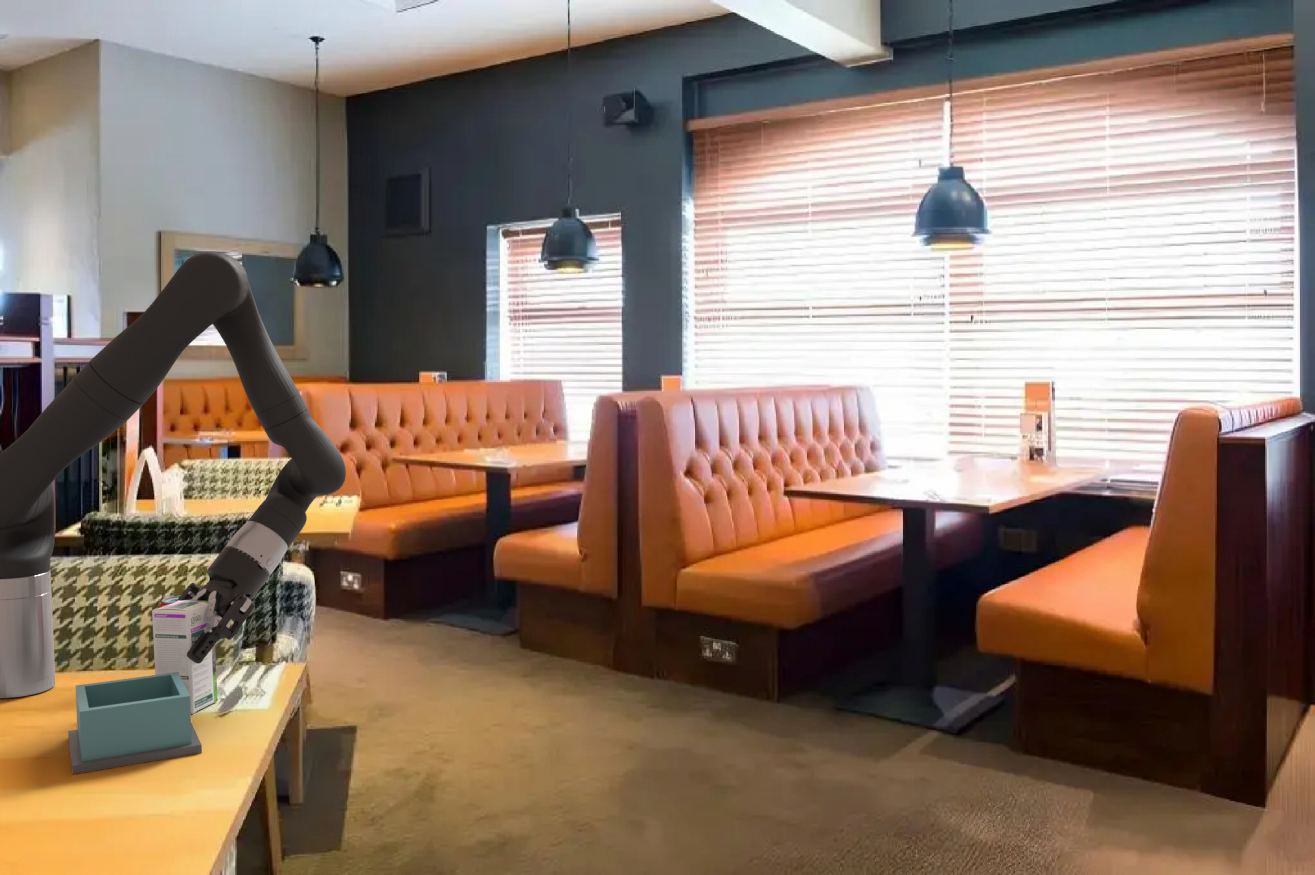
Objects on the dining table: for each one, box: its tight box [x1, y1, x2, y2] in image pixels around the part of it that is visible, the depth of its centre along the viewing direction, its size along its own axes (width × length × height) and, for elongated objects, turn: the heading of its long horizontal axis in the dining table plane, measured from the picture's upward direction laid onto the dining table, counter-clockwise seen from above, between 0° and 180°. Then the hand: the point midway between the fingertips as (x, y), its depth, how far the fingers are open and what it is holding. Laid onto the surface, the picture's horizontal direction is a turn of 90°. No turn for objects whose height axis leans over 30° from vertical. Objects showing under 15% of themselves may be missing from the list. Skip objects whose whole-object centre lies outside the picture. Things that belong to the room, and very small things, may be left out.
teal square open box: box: [67, 672, 203, 775], centre depth 137 cm, size 14×14×7 cm
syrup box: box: [151, 600, 219, 715], centre depth 152 cm, size 6×6×14 cm
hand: (175, 655), depth 151 cm, fingers open, 8 cm apart
